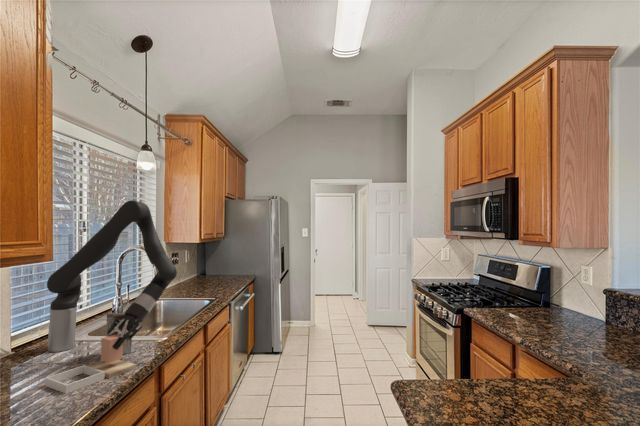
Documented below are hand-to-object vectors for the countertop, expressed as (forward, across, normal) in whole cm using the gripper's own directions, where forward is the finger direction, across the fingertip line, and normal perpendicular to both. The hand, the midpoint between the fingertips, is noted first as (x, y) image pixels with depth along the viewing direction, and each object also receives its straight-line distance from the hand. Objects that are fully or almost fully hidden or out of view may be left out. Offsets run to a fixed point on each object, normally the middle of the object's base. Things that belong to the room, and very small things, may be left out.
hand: (109, 346), depth 125 cm
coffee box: (-3, -14, +15) cm, 21 cm away
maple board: (+5, 0, +6) cm, 8 cm away
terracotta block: (+3, 0, +4) cm, 5 cm away
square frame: (+14, 0, -2) cm, 14 cm away
